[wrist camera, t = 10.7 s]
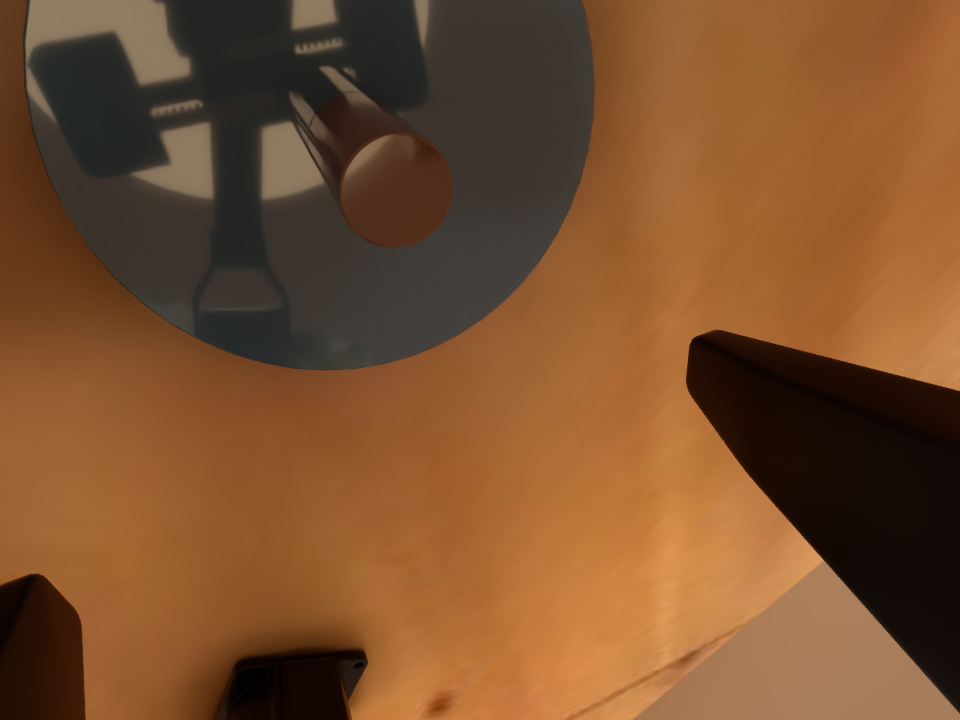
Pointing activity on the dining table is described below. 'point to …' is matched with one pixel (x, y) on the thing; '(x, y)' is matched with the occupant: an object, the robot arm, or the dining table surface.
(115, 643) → the dining table surface
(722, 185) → the dining table surface
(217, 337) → the lid
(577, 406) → the dining table surface
